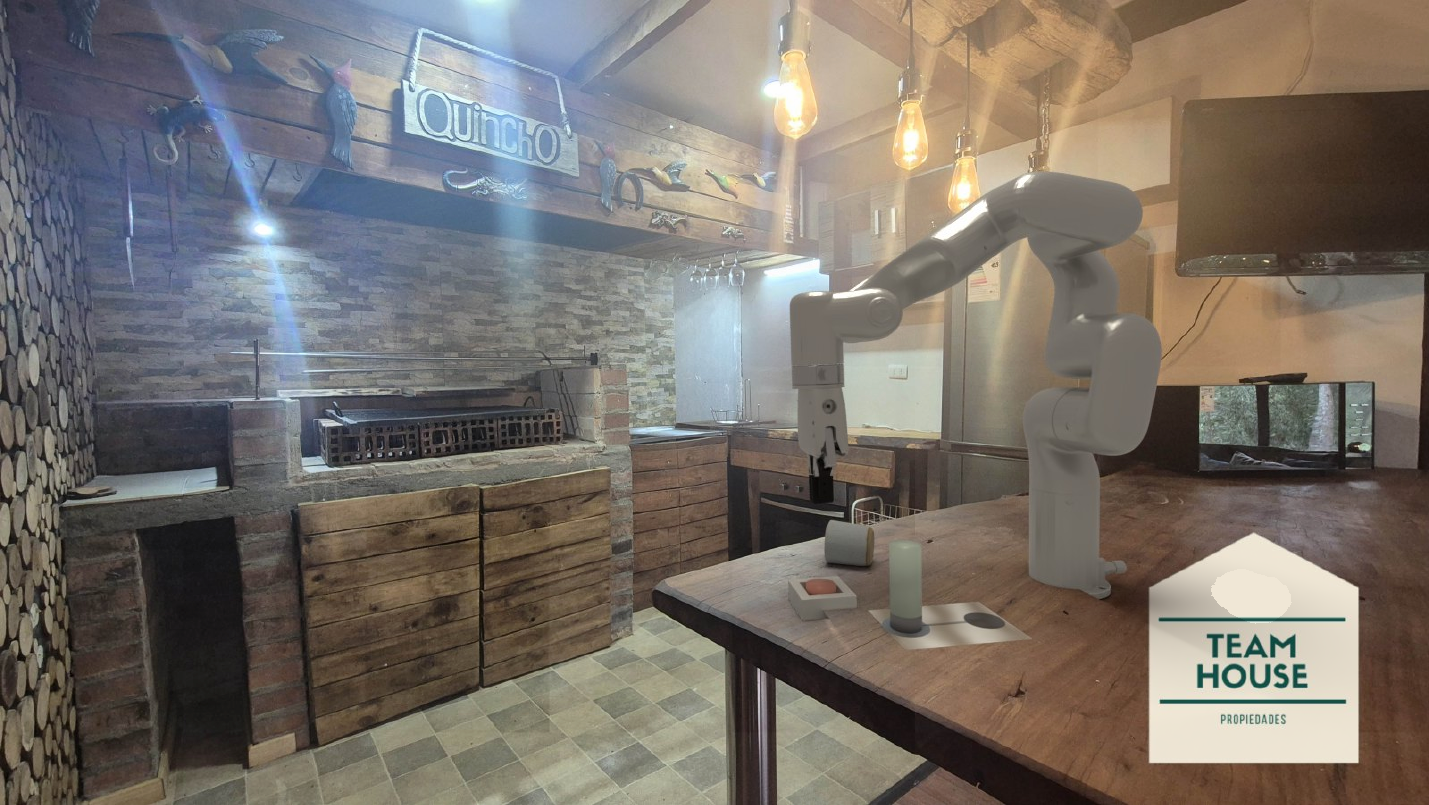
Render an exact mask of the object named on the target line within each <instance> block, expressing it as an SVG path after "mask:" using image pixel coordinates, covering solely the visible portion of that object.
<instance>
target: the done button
mask: <svg viewBox="0 0 1429 805" xmlns="http://www.w3.org/2000/svg"><path fill="white" fill-rule="evenodd" d="M806 592H807V593H808V595H822V594H835V593H836V583H835V582H833V581H831V580H828V579H811V580H809V581H807V582H806Z"/></svg>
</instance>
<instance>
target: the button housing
mask: <svg viewBox="0 0 1429 805" xmlns="http://www.w3.org/2000/svg"><path fill="white" fill-rule="evenodd" d="M811 579H828V580H831V581H833V582H835V583H836V593H835V594H822V595H808V593H807V592H806V582H807V581H809V580H811ZM787 584H788V585H787V590H788V592H787V594H788V595H787V596H788V597H787V598H788V601H789V602H790V604H791V605H792V606H793V608H794V609H795V612H796V613H797V614H798V617H799V618H800V619H801V621H802V622H803V621H816V620H817V621H818V620H827V619H830V617H829V616H828V615H827V614H826V612H825V611H831V610H833V611H834V610H843V609H856V608H858V604H857V603H858V602H857V601H858V600H857V599H858V598H857V597H858V596H857V595H856V593H854V591H852V590H851V588H850V587H849V586H848V585H847V584H846V583H845V581H843V579H841V578H840V577H839V576H838V575H833V576H822V577H821V576H820V577H818V576H817V577H808V578H807V577H806V578H793V579H788V580H787Z"/></svg>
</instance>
